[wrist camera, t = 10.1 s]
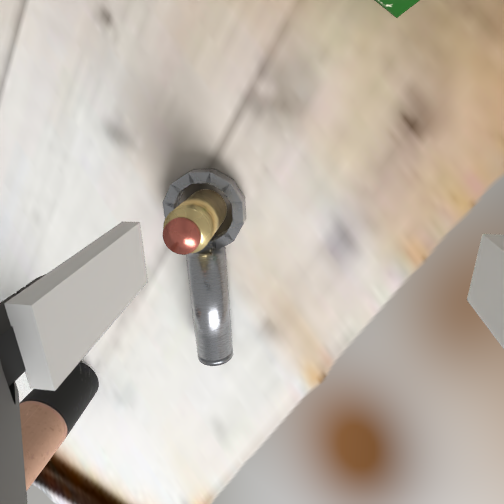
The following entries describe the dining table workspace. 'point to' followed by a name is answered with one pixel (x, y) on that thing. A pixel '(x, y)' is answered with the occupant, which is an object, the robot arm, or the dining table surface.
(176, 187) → the grey ring-headed tool
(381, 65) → the dining table surface
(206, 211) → the yellow jar pink lid
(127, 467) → the dining table surface
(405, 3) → the milk carton
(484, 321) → the robot arm
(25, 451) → the travel mug
